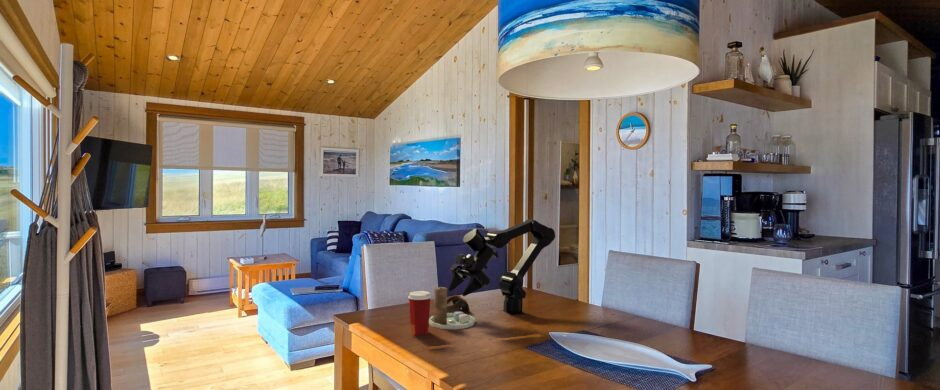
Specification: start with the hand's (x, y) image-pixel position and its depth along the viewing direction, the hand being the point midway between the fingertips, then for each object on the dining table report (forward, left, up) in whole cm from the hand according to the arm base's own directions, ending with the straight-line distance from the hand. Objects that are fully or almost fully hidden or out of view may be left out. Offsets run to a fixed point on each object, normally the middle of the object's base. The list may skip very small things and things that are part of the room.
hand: (456, 293), depth 180 cm
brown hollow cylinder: (-5, -12, -11) cm, 17 cm away
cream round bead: (-2, +3, -10) cm, 11 cm away
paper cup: (+16, +9, -11) cm, 21 cm away
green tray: (+2, +1, -11) cm, 11 cm away
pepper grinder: (+6, +1, -10) cm, 12 cm away
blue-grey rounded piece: (-2, -1, -10) cm, 10 cm away
